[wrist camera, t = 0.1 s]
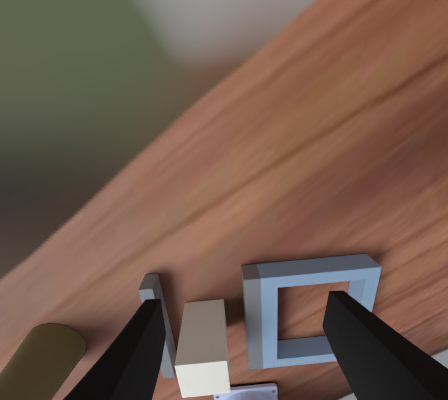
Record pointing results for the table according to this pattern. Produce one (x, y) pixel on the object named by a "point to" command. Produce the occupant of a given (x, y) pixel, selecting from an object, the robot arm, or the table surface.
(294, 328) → the table surface
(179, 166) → the table surface
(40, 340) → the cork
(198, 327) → the cream white block
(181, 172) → the table surface
